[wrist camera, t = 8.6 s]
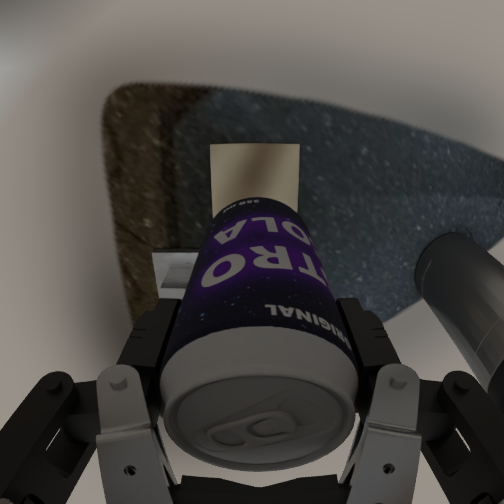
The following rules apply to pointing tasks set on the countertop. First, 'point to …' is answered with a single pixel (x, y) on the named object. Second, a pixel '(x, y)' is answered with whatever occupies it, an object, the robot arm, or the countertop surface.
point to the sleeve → (173, 270)
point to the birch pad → (254, 173)
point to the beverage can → (258, 347)
